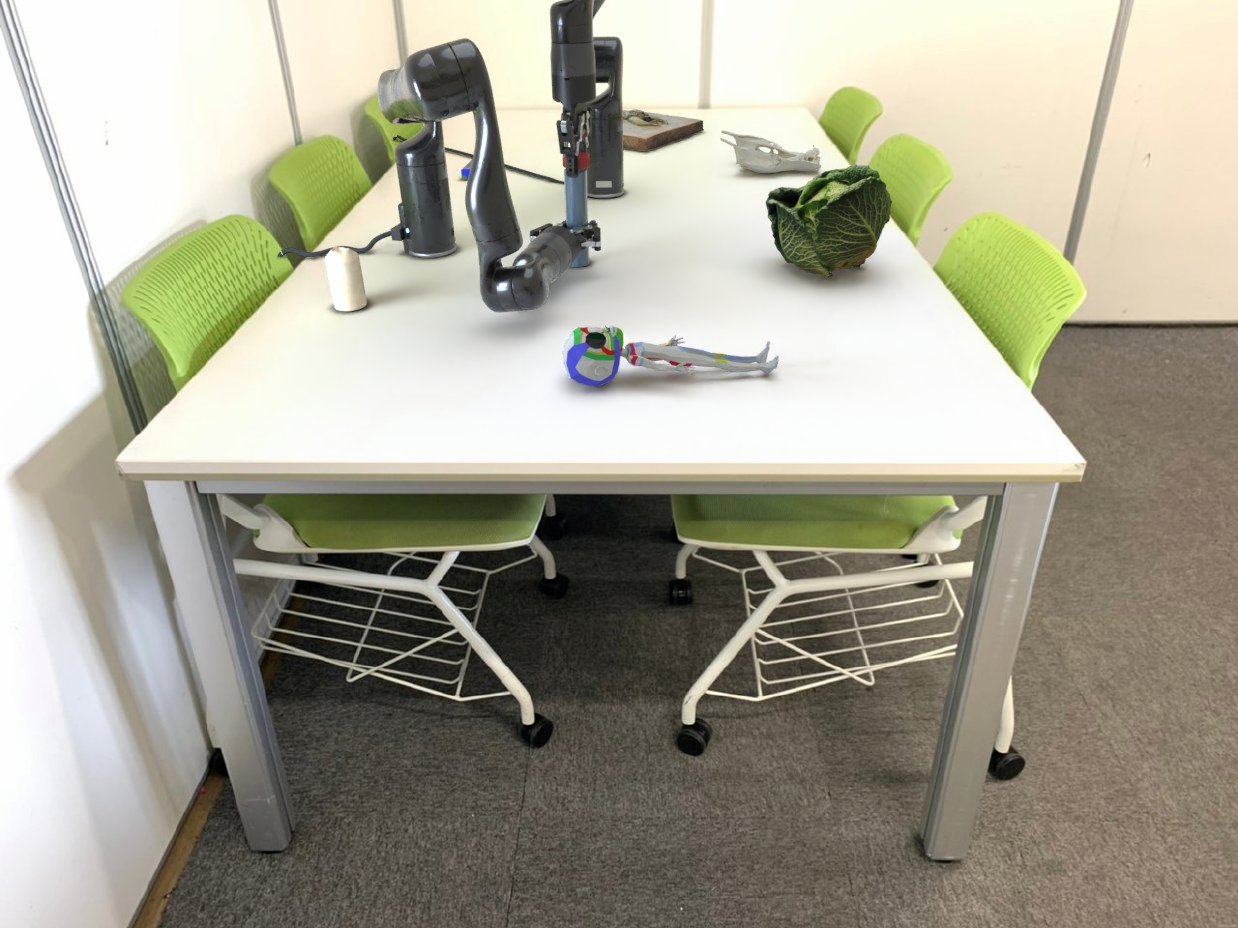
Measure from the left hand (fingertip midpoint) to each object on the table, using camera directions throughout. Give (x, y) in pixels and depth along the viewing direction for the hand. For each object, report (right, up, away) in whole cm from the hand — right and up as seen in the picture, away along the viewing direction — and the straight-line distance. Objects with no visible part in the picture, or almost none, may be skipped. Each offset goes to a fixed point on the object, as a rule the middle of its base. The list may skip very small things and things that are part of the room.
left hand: (581, 224), depth 168 cm
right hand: (-1, +7, -8) cm, 11 cm away
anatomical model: (+45, +28, +56) cm, 77 cm away
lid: (-1, +10, -9) cm, 13 cm away
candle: (-39, -18, -15) cm, 45 cm away
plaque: (+11, +50, +91) cm, 104 cm away
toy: (+14, -32, -39) cm, 53 cm away
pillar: (-30, +30, +61) cm, 74 cm away
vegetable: (+45, -9, -3) cm, 46 cm away
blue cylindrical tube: (-1, -7, +1) cm, 7 cm away
